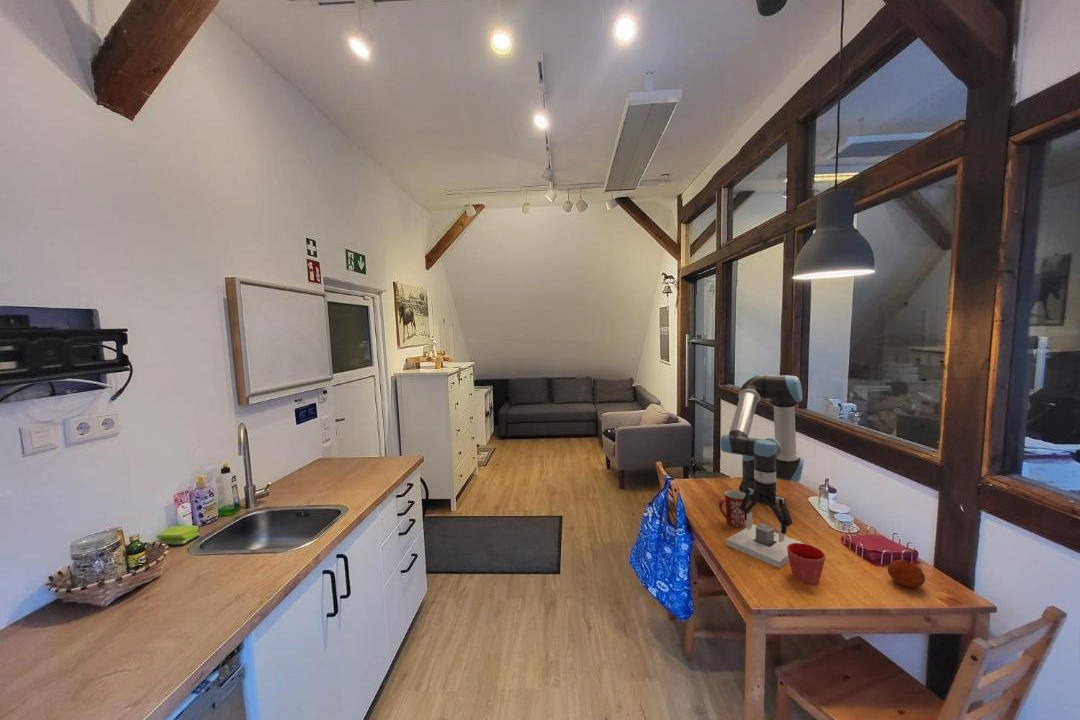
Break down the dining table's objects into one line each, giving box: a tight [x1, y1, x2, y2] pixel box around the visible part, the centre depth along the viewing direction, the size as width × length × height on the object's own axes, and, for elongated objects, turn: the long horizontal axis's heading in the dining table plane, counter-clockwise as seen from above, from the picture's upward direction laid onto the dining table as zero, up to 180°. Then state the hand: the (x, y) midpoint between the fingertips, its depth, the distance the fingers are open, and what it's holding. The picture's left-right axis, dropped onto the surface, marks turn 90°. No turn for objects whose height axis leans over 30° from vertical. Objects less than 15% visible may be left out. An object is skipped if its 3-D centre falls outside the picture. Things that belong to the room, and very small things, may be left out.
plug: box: [756, 522, 775, 547], centre depth 157 cm, size 5×5×8 cm
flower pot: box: [787, 542, 826, 586], centre depth 137 cm, size 11×11×10 cm
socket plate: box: [726, 523, 806, 569], centre depth 157 cm, size 20×20×3 cm
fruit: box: [887, 559, 926, 589], centre depth 132 cm, size 9×9×8 cm
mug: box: [718, 489, 746, 528], centre depth 176 cm, size 13×9×14 cm
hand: (764, 534), depth 157 cm, fingers open, 11 cm apart
